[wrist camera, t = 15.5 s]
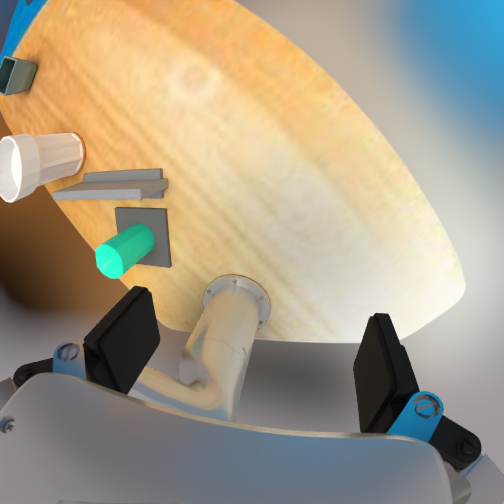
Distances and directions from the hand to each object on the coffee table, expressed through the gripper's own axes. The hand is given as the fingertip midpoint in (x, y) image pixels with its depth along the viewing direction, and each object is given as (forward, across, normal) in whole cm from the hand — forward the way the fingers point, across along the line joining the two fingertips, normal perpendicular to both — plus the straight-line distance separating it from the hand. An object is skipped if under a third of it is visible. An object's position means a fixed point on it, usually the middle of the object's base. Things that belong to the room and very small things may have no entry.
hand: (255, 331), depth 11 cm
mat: (+33, +26, +10) cm, 43 cm away
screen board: (+33, +30, 0) cm, 45 cm away
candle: (+33, +26, +10) cm, 43 cm away
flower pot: (+34, +61, -30) cm, 76 cm away
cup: (+34, +43, -7) cm, 55 cm away
